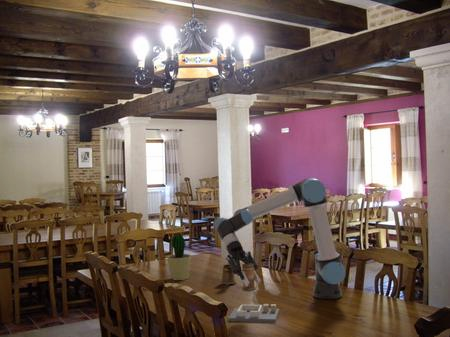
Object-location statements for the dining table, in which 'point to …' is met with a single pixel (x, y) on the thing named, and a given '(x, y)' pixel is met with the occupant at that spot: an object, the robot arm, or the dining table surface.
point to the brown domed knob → (249, 277)
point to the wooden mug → (228, 275)
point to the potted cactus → (179, 259)
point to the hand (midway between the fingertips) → (253, 283)
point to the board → (255, 313)
